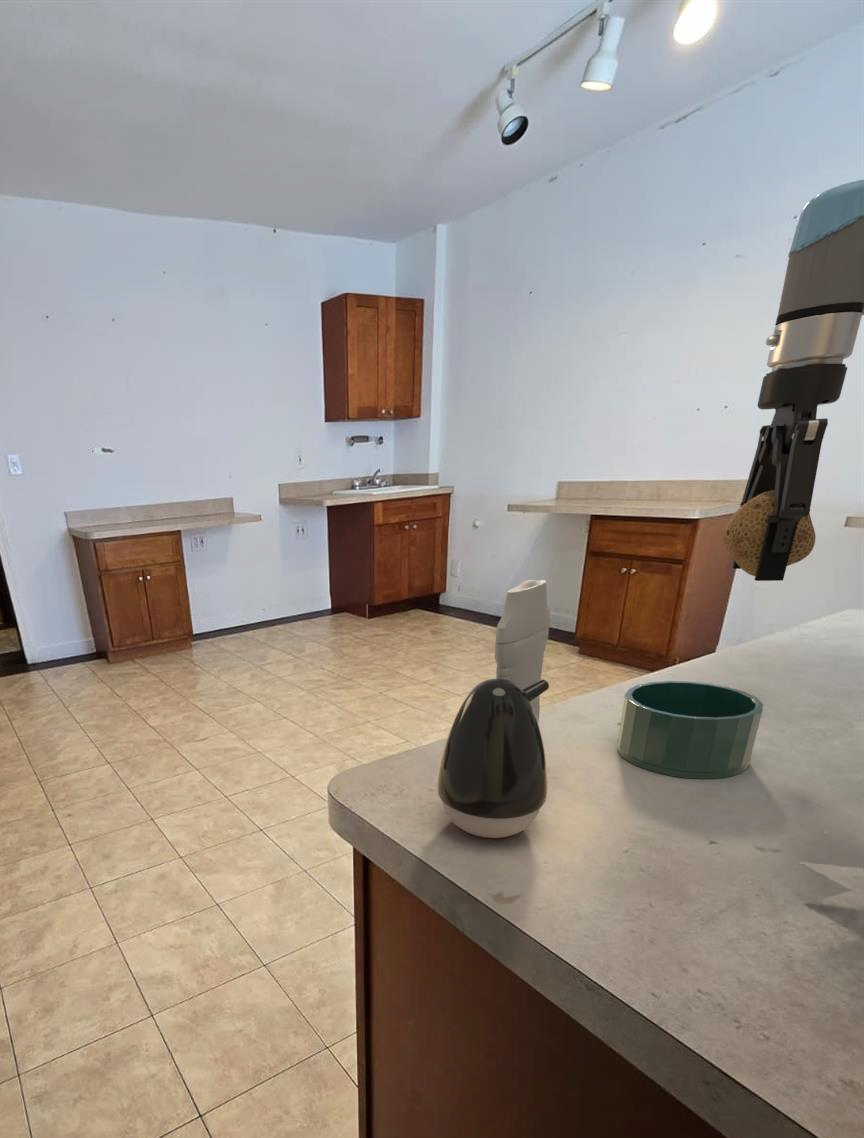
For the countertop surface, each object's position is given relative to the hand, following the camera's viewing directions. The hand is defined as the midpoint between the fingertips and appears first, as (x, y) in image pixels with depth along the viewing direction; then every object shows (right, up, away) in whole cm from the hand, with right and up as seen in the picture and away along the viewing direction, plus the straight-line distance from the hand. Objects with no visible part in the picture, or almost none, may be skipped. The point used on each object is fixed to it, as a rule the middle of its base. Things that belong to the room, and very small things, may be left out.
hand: (756, 573), depth 80 cm
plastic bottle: (-33, -26, -7) cm, 43 cm away
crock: (-13, -23, -5) cm, 27 cm away
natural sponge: (0, 0, 0) cm, 0 cm away
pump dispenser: (-39, -31, -16) cm, 52 cm away
